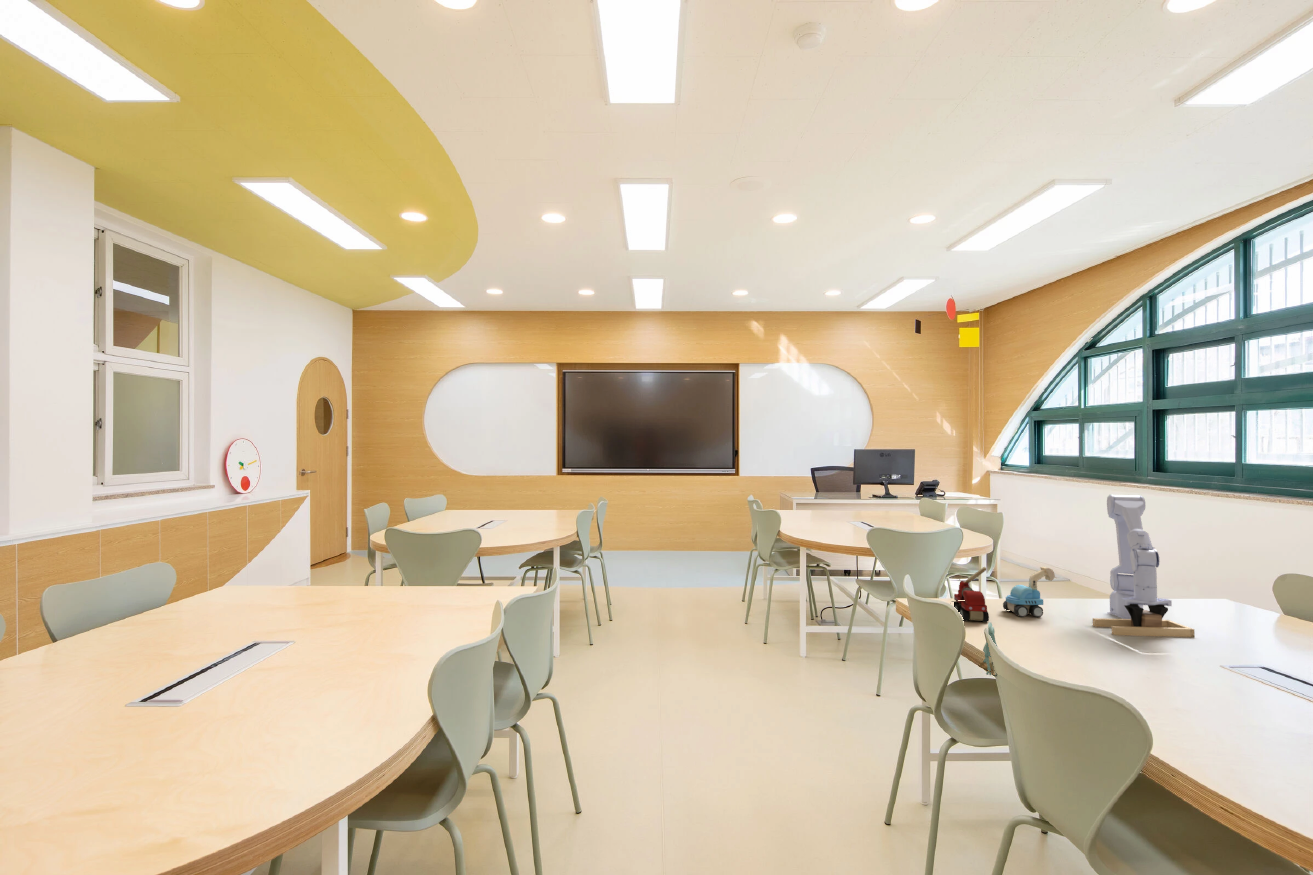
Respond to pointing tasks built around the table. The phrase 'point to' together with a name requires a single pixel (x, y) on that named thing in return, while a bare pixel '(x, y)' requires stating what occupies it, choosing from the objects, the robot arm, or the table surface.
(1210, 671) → the table surface
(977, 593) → the toy fire truck
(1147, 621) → the box
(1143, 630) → the bay
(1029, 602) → the toy excavator
